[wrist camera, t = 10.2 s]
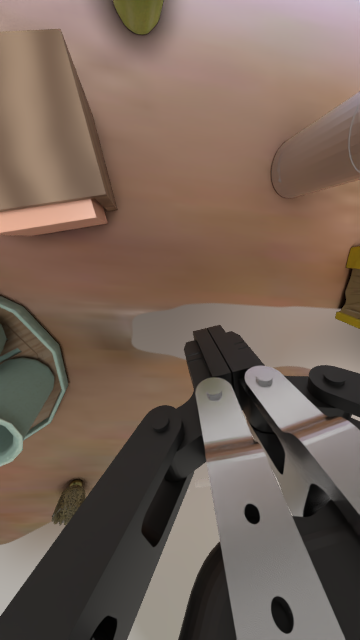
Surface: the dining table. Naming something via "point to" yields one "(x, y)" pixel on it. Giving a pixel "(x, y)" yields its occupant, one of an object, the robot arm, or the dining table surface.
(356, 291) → the decorative book
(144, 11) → the plant pot
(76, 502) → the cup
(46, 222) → the salmon pink block
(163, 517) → the robot arm
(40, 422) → the tea set
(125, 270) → the dining table surface
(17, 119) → the brown box with drawer
